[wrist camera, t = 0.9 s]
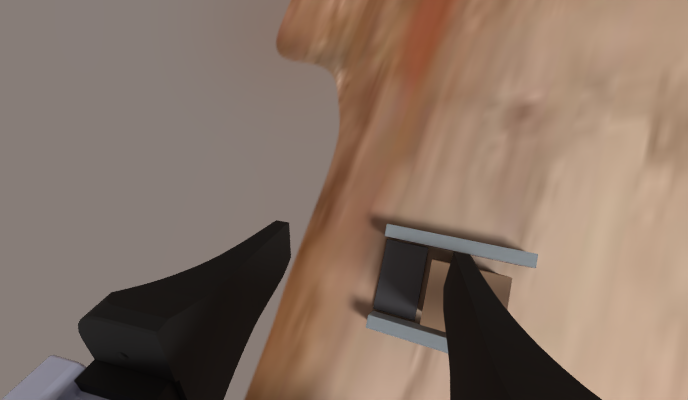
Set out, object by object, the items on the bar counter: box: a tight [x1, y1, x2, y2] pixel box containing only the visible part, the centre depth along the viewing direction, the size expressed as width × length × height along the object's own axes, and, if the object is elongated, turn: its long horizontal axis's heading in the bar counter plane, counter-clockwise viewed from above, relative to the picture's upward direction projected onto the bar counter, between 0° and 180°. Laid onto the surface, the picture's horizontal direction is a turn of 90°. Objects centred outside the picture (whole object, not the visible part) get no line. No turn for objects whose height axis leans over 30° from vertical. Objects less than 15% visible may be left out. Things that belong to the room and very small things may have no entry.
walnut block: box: [420, 259, 512, 332], centre depth 23 cm, size 4×5×5 cm
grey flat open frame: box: [366, 224, 538, 353], centre depth 24 cm, size 8×11×2 cm
